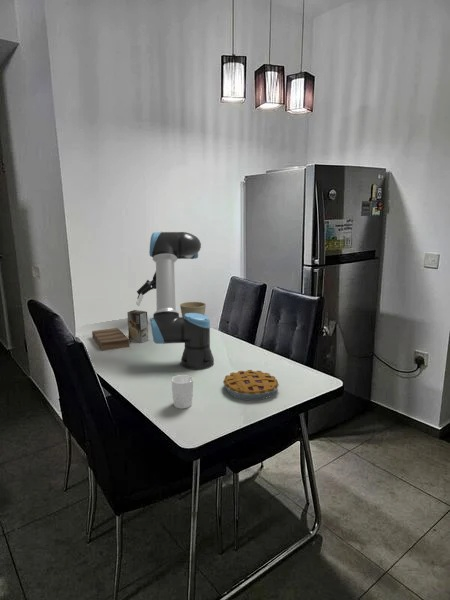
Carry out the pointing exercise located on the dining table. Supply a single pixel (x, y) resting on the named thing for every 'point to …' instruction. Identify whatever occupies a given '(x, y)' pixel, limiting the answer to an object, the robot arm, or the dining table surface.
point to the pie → (250, 384)
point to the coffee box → (137, 326)
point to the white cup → (182, 391)
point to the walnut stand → (110, 339)
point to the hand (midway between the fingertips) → (148, 305)
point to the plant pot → (192, 308)
